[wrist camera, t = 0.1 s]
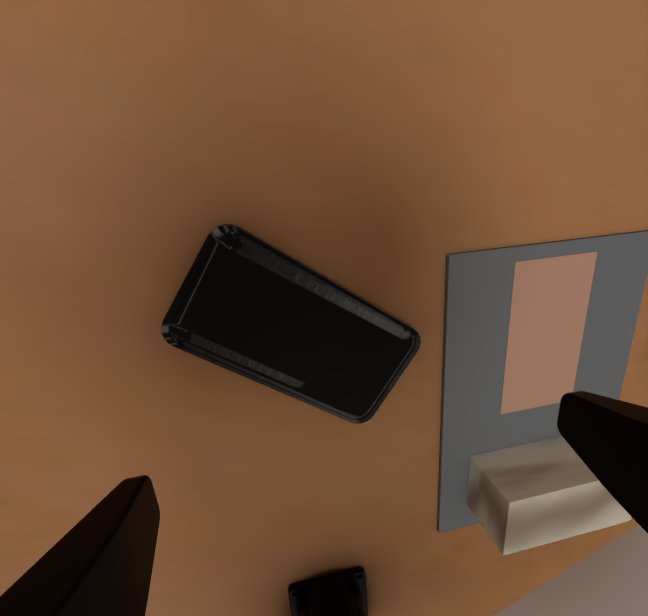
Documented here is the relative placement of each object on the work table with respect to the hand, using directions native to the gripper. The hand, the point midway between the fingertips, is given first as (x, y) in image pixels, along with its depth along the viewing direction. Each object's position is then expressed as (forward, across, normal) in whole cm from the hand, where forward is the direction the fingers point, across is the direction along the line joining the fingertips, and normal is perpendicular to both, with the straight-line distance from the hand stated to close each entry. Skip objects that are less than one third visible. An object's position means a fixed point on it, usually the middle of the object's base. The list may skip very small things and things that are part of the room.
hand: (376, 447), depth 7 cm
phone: (+15, 0, +3) cm, 16 cm away
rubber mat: (+15, -18, +11) cm, 26 cm away
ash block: (+14, -18, +18) cm, 29 cm away
